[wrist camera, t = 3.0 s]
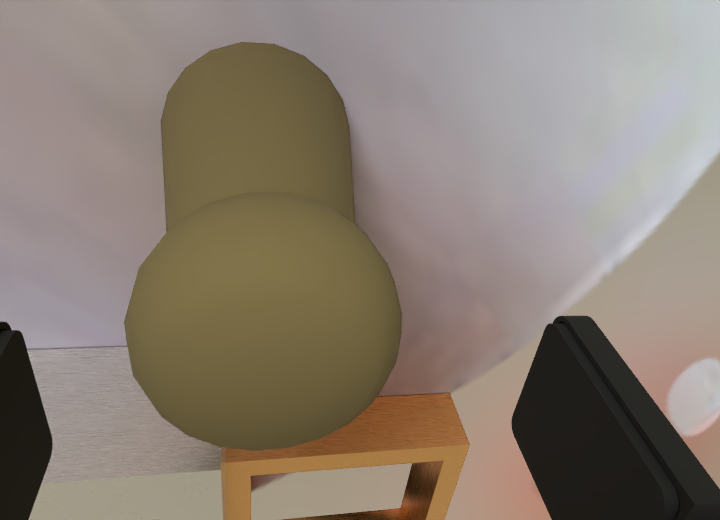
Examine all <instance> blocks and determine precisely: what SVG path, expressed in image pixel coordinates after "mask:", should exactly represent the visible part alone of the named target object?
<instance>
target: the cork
mask: <svg viewBox="0 0 720 520" xmlns="http://www.w3.org/2000/svg"><path fill="white" fill-rule="evenodd" d="M161 132H162V151H163V171H164V191H165V211H166V230H167V233H166V234H165V236H164V237H163V238H162V239H161V241H160V242H159V243H158V244H157V246H156V247H155V248H154V250H153V251H152V252H151V253H150V255H149V256H148V257H147V259H146V260H145V261H144V262H143V264H142V265H141V266H140V268H139V270H138V274H137V277H136V281H135V284H134V288H133V292H132V295H131V299H130V303H129V306H128V310H127V314H126V318H125V321H124V324H125V332H126V339H127V346H128V352H129V357H130V363H131V368H132V374H133V377H134V378H135V380H136V381H137V382H138V384H139V385H140V387H141V388H142V390H143V391H144V393H145V394H146V396H147V397H148V399H149V400H150V401H151V403H152V404H153V406H154V407H155V409H156V410H157V411H158V413H159V414H160V416H161V417H162V418H164V419H165V420H166V421H168V422H169V423H171V424H172V425H173V426H175V427H176V428H178V429H179V430H180V431H182V432H183V433H185V434H186V435H188V436H190V437H193V438H196V439H199V440H201V441H204V442H207V443H210V444H212V445H215V446H218V447H225V448H233V449H242V450H250V451H258V450H270V449H283V448H290V447H293V446H297V445H301V444H304V443H308V442H311V441H315V440H318V439H321V438H323V437H325V436H327V435H329V434H331V433H333V432H335V431H336V430H338V429H340V428H342V427H344V426H346V425H348V424H350V423H351V422H352V421H353V420H354V419H355V418H357V417H358V416H359V415H360V414H361V413H362V412H363V411H364V410H366V409H367V408H368V407H369V406H370V405H371V404H372V403H373V402H374V400H375V399H376V397H377V395H378V394H379V392H380V390H381V389H382V387H383V385H384V384H385V382H386V380H387V379H388V377H389V375H390V373H391V371H392V369H393V367H394V365H395V363H396V359H397V353H398V348H399V342H400V337H401V320H402V312H401V308H400V304H399V299H398V295H397V291H396V286H395V282H394V279H393V277H392V274H391V272H390V269H389V266H388V264H387V262H386V261H385V260H384V258H383V257H382V255H381V254H380V253H379V251H378V250H377V249H376V247H375V246H374V244H373V243H372V242H371V240H370V239H369V237H368V236H367V235H366V234H365V233H364V232H363V231H362V230H361V229H360V228H359V227H358V226H357V224H355V211H354V195H353V179H352V163H351V147H350V131H349V124H348V120H347V116H346V111H345V107H344V103H343V100H342V98H341V96H340V95H339V93H338V92H337V90H336V88H335V87H334V85H333V84H332V82H331V80H330V79H329V77H328V76H327V75H326V74H325V73H324V72H323V71H321V70H320V69H319V68H318V67H317V66H315V65H314V64H313V63H312V62H311V61H309V60H308V59H307V58H306V57H304V56H303V55H300V54H298V53H295V52H293V51H290V50H288V49H285V48H283V47H280V46H277V45H275V44H264V43H247V42H240V43H237V44H233V45H229V46H226V47H222V48H219V49H215V50H211V51H209V52H208V53H207V54H205V55H204V56H202V57H201V58H199V59H198V60H197V61H195V62H194V63H192V64H191V65H189V66H188V67H186V68H185V69H184V71H183V72H182V74H181V75H180V77H179V78H178V79H177V81H176V82H175V84H174V85H173V87H172V88H171V89H170V91H169V92H168V95H167V99H166V103H165V107H164V111H163V115H162V119H161Z"/></svg>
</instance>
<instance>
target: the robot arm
mask: <svg viewBox="0 0 720 520" xmlns="http://www.w3.org/2000/svg"><path fill="white" fill-rule="evenodd" d="M512 430H513V434H514V437H515V439H516V441H517V443H518V445H519V448H520V450H521V452H522V454H523V457H524V459H525V461H526V463H527V466H528V468H529V470H530V472H531V474H532V477H533V479H534V481H535V483H536V486H537V488H538V490H539V492H540V494H541V497H542V499H543V501H544V503H545V505H546V508H547V510H548V512H549V514H550V516H551V518H552V520H720V489H719V488H718V486H717V485H716V484H715V482H714V481H713V480H712V478H711V477H710V476H709V474H708V473H707V472H706V470H705V469H704V468H703V466H702V465H701V464H700V462H699V461H698V460H697V458H696V457H695V456H694V454H693V453H692V452H691V450H690V449H689V448H688V446H687V445H686V443H685V442H684V441H683V439H682V438H681V437H680V435H679V434H678V433H677V431H676V430H675V429H674V427H673V426H672V425H671V423H670V422H669V421H668V419H667V418H666V417H665V415H664V414H663V413H662V411H661V410H660V409H659V407H658V406H657V405H656V403H655V402H654V401H653V399H652V398H651V397H650V395H649V394H648V393H647V391H646V390H645V389H644V387H643V386H642V385H641V383H640V382H639V381H638V379H637V378H636V377H635V375H634V374H633V373H632V371H631V370H630V369H629V367H628V366H627V365H626V363H625V362H624V360H623V359H622V358H621V356H620V355H619V354H618V352H617V351H616V350H615V348H614V347H613V346H612V344H611V343H610V342H609V340H608V339H607V338H606V336H605V335H604V334H603V332H602V331H601V330H600V328H599V327H598V326H597V324H596V323H595V322H594V321H593V319H592V318H590V317H588V316H559V317H557V318H556V319H555V320H554V322H553V324H548V325H547V326H546V328H545V330H544V333H543V336H542V339H541V341H540V344H539V346H538V349H537V352H536V354H535V357H534V360H533V362H532V365H531V368H530V371H529V373H528V376H527V379H526V381H525V384H524V387H523V389H522V392H521V395H520V397H519V400H518V403H517V405H516V408H515V411H514V413H513V417H512ZM52 446H53V442H52V435H51V431H50V428H49V424H48V421H47V418H46V414H45V411H44V407H43V404H42V400H41V397H40V393H39V390H38V386H37V383H36V379H35V376H34V373H33V369H32V366H31V362H30V359H29V355H28V352H27V348H26V345H25V341H24V338H23V335H22V333H21V332H20V331H17V330H11V328H10V325H9V324H8V323H7V322H0V520H29V517H30V514H31V511H32V509H33V506H34V503H35V500H36V497H37V495H38V492H39V489H40V486H41V483H42V481H43V478H44V475H45V472H46V469H47V467H48V464H49V461H50V458H51V454H52Z"/></svg>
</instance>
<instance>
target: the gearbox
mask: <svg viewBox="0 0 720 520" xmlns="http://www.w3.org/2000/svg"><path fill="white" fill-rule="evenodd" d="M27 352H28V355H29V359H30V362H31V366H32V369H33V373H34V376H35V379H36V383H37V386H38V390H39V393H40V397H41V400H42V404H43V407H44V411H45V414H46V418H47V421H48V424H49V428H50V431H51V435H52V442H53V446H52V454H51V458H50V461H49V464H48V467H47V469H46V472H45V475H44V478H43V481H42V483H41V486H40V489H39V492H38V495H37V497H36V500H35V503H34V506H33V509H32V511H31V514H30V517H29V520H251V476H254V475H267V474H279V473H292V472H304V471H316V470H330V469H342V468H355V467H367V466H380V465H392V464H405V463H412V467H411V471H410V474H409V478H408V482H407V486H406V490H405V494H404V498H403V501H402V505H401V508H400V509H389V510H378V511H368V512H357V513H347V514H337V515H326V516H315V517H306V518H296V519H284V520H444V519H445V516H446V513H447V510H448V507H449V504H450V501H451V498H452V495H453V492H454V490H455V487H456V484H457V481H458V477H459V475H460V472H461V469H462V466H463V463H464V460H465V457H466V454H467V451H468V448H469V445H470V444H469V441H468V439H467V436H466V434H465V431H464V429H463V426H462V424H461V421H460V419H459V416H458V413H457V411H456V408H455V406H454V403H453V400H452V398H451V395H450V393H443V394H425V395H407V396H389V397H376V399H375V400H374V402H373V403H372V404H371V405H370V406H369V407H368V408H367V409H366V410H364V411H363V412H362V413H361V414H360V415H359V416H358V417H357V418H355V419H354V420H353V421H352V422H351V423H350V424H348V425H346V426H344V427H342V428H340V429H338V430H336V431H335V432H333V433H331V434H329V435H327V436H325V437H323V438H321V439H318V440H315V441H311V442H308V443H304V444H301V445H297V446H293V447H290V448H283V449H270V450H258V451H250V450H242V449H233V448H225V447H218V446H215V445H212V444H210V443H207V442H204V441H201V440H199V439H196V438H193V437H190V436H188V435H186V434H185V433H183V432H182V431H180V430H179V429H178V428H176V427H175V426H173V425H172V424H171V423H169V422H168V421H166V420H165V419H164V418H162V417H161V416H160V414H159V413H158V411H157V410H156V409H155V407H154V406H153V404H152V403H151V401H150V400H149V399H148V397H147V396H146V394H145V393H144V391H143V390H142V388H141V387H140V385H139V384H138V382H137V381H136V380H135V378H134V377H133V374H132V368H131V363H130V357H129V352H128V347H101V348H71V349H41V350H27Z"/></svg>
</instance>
